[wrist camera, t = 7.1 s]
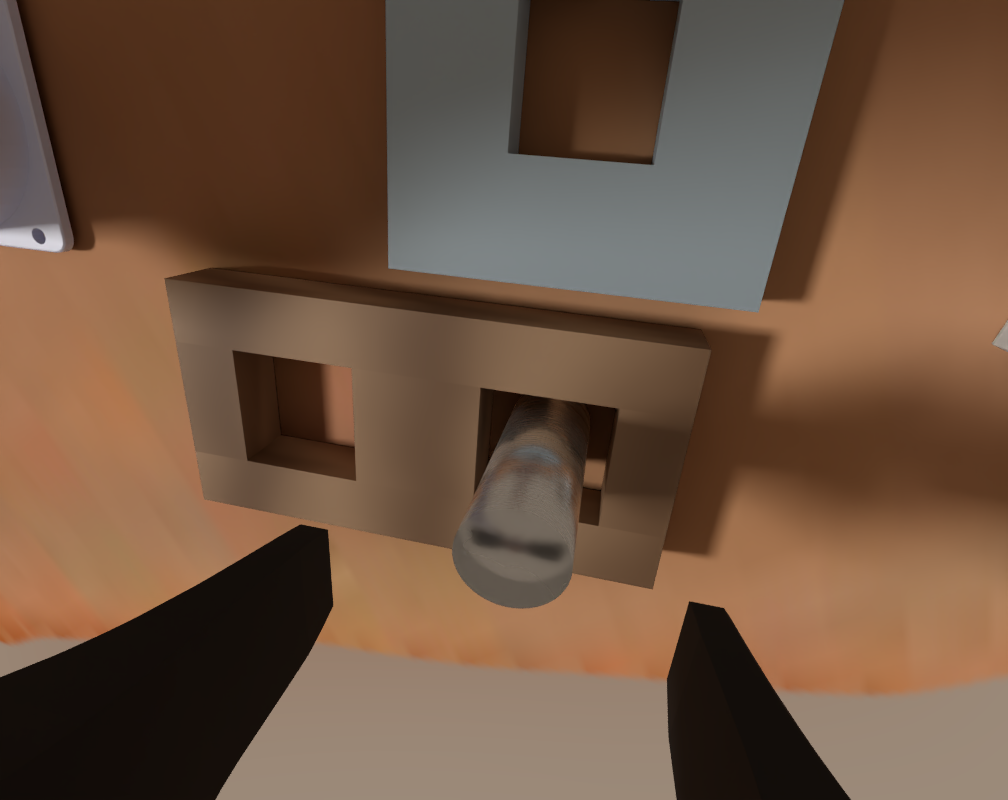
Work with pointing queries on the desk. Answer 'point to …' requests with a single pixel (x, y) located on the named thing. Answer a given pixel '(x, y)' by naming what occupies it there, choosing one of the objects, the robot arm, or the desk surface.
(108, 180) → the desk surface
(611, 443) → the rack
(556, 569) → the peg
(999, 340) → the grey arched plastic casing
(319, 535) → the robot arm
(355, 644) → the desk surface
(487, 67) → the socket block
